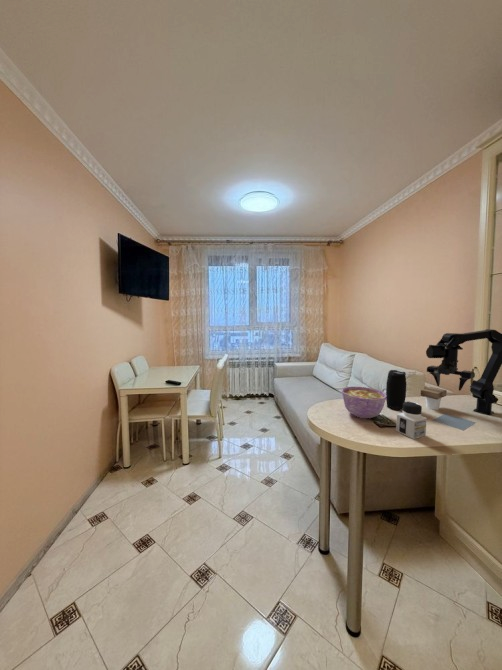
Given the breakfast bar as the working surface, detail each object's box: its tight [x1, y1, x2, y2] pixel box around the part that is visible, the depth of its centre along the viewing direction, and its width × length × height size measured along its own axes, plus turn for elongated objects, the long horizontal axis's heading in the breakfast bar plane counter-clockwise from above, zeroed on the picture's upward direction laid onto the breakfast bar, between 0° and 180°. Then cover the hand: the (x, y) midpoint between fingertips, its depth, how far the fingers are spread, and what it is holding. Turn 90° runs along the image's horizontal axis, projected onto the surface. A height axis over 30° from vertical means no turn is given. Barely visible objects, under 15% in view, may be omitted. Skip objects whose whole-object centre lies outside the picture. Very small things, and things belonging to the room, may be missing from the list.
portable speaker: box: [385, 369, 407, 411], centre depth 133 cm, size 9×9×20 cm
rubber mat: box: [431, 413, 477, 431], centre depth 116 cm, size 15×12×1 cm
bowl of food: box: [341, 386, 387, 419], centre depth 123 cm, size 20×20×12 cm
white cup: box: [425, 397, 442, 411], centre depth 133 cm, size 7×7×7 cm
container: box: [395, 401, 428, 440], centre depth 104 cm, size 8×8×13 cm
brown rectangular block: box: [420, 386, 447, 400], centre depth 132 cm, size 11×7×3 cm
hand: (448, 388), depth 129 cm, fingers open, 9 cm apart
